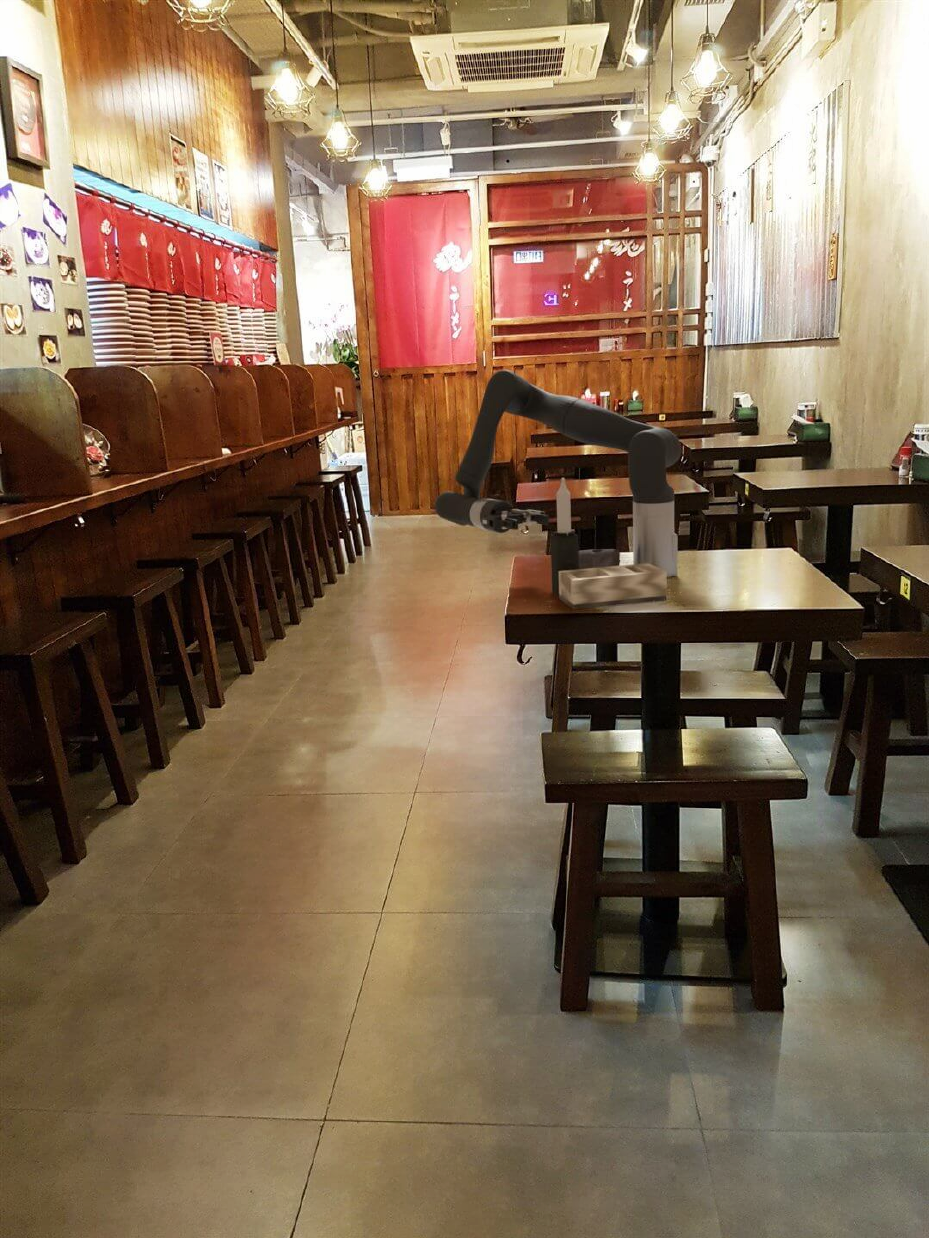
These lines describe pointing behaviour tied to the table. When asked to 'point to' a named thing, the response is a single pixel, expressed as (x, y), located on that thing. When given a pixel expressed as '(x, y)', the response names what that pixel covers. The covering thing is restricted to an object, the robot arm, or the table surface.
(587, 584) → the stand
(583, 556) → the perforated stone tool
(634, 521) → the robot arm
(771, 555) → the table surface
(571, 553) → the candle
